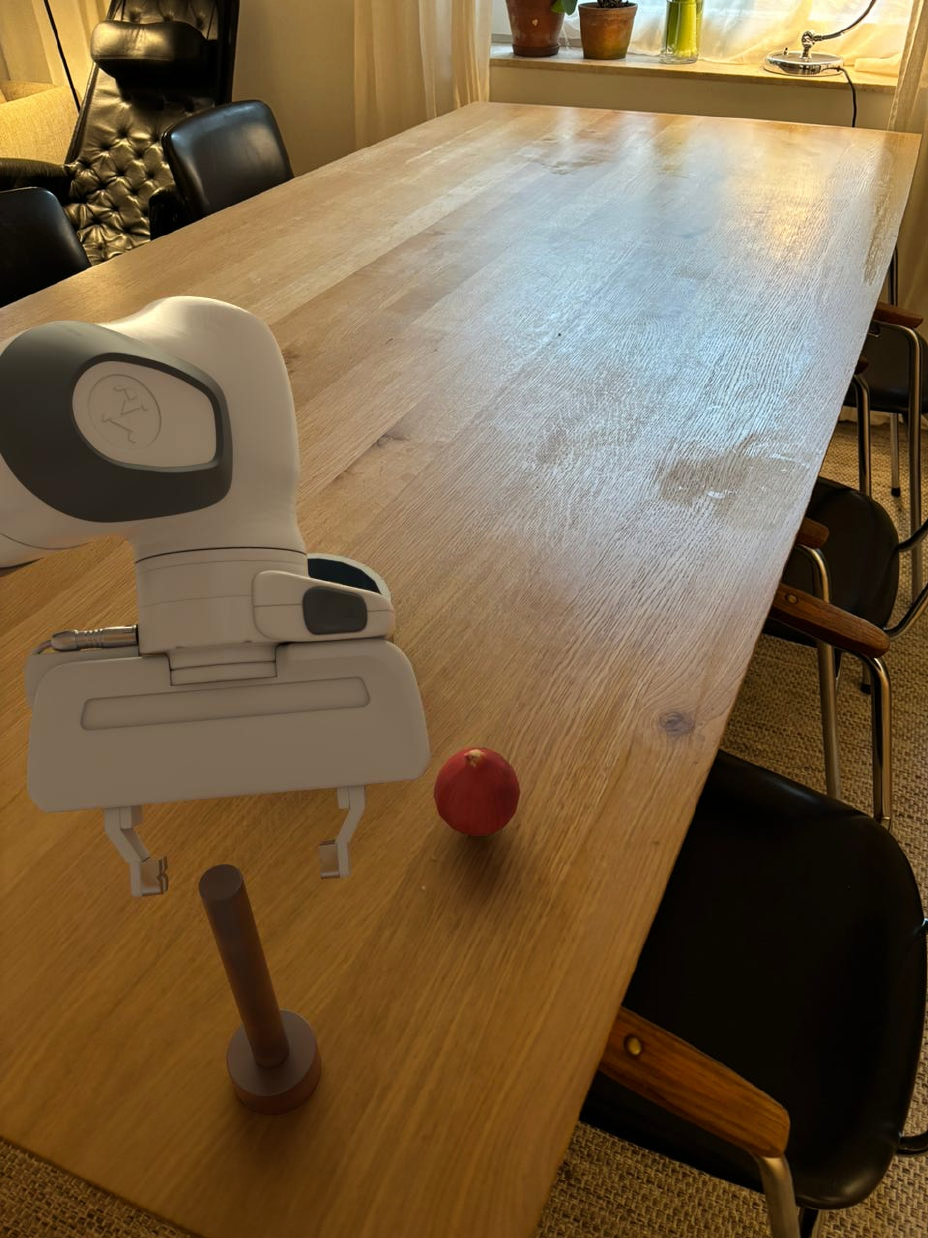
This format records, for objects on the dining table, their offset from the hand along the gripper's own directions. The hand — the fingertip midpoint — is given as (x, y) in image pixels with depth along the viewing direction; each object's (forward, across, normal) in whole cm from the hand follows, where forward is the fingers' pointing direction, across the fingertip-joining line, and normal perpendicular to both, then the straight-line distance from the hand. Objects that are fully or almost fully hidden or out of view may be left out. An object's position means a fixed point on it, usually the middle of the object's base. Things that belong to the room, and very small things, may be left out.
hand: (244, 885), depth 51 cm
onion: (+1, +13, +18) cm, 23 cm away
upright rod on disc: (+12, 0, +7) cm, 14 cm away
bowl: (-13, +1, +32) cm, 34 cm away
